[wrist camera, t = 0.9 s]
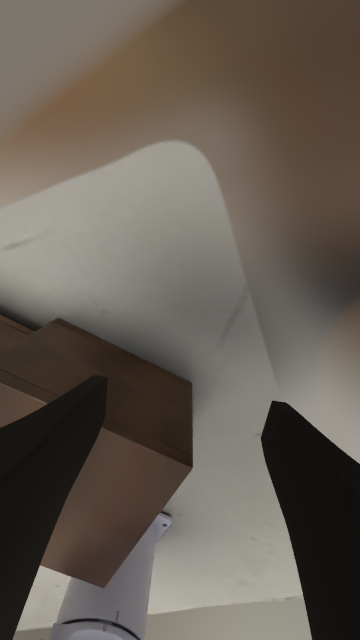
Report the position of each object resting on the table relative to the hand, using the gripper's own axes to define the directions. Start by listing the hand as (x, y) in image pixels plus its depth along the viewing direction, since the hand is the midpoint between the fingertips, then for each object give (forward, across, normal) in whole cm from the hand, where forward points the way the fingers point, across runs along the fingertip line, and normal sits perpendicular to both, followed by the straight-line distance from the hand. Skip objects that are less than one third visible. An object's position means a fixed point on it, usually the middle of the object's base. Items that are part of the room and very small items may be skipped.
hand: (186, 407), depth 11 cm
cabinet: (+10, +7, +9) cm, 15 cm away
